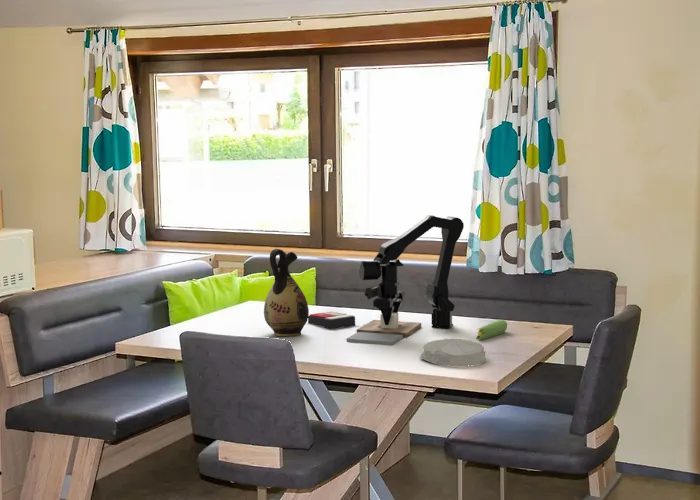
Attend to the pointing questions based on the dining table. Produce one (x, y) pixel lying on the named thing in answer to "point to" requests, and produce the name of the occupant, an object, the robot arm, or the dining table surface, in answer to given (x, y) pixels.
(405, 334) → the pocket plate
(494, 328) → the edible corn
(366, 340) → the grey mat
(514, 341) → the dining table surface
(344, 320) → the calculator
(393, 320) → the white block
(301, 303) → the ceramic jug
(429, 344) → the grey stone disc
